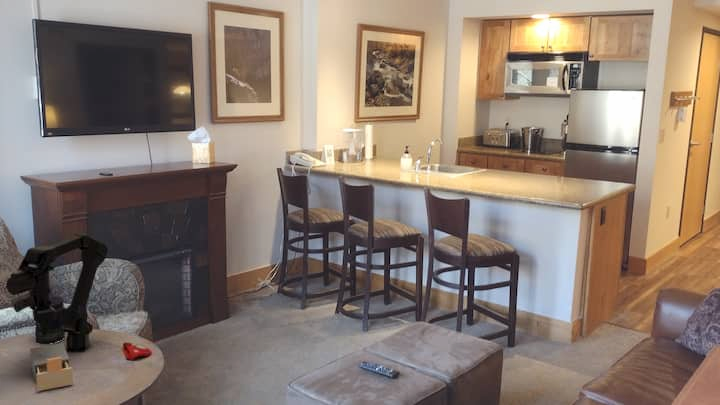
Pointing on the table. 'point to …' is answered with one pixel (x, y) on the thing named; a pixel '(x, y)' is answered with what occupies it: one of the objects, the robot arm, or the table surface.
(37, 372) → the beige open box
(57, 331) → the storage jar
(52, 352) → the sleeve
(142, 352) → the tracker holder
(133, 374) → the table surface
